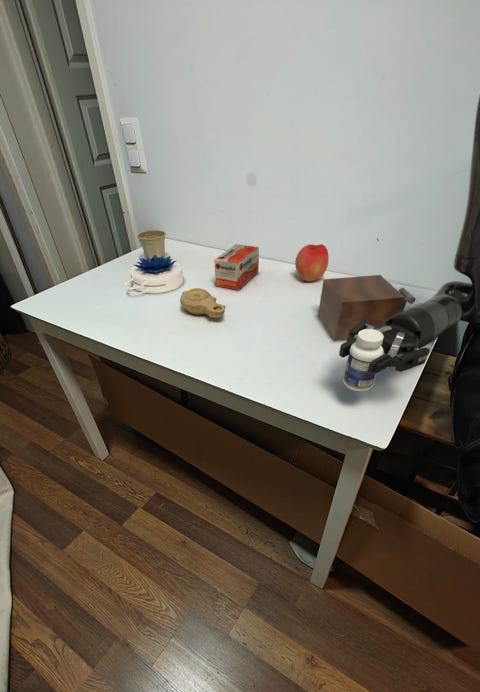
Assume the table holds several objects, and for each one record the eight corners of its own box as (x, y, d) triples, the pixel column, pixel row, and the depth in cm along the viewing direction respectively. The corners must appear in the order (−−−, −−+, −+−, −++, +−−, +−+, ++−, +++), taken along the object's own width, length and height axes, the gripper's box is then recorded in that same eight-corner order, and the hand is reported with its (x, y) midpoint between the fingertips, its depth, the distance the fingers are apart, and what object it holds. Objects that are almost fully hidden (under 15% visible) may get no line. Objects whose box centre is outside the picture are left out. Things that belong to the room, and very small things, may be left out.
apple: (323, 274, 109) (329, 240, 102) (326, 286, 102) (332, 251, 95) (293, 273, 110) (296, 239, 103) (293, 285, 103) (297, 250, 96)
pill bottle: (349, 370, 64) (361, 323, 58) (377, 380, 62) (393, 332, 55) (337, 385, 61) (348, 337, 55) (366, 396, 59) (381, 347, 52)
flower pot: (148, 255, 123) (143, 229, 116) (173, 257, 121) (169, 230, 115) (138, 265, 116) (132, 238, 110) (164, 267, 115) (159, 239, 109)
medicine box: (236, 268, 113) (235, 242, 107) (259, 272, 111) (259, 246, 105) (214, 286, 103) (213, 259, 98) (239, 291, 101) (238, 263, 95)
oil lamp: (222, 326, 87) (221, 307, 83) (171, 318, 90) (168, 300, 86) (235, 307, 94) (235, 289, 90) (187, 301, 97) (185, 283, 93)
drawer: (391, 307, 91) (401, 277, 85) (413, 328, 83) (425, 297, 77) (327, 313, 89) (332, 283, 83) (343, 335, 81) (350, 304, 76)
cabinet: (370, 311, 91) (380, 274, 84) (391, 335, 83) (405, 297, 76) (317, 315, 90) (323, 279, 83) (334, 341, 81) (342, 302, 74)
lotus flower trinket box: (152, 247, 109) (104, 267, 97) (191, 256, 103) (144, 279, 91) (156, 269, 114) (111, 291, 102) (193, 279, 108) (149, 304, 96)
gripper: (388, 294, 65) (326, 322, 58) (462, 323, 56) (400, 360, 50) (378, 330, 70) (320, 360, 63) (444, 361, 62) (385, 399, 55)
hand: (355, 360), depth 56 cm, fingers closed on pill bottle, 5 cm apart
